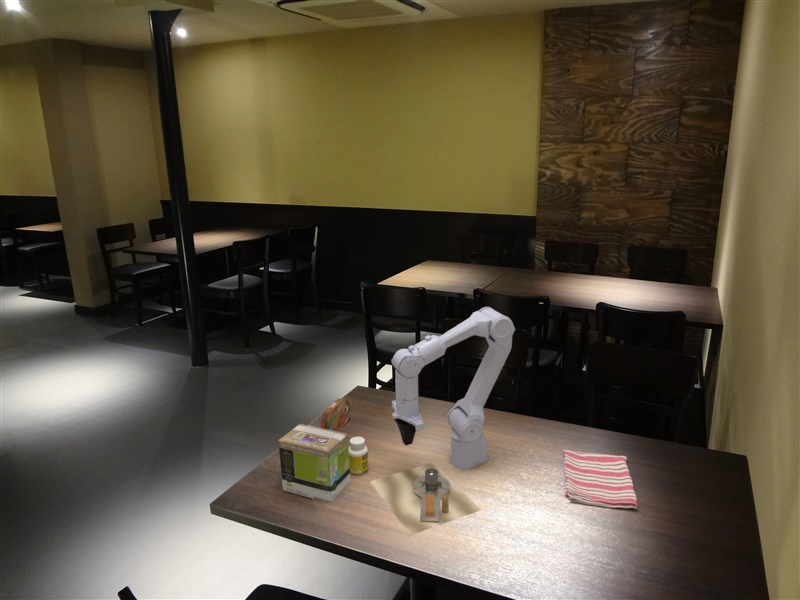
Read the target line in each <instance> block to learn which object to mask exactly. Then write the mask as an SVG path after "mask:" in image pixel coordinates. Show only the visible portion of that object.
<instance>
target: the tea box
mask: <svg viewBox="0 0 800 600" xmlns="http://www.w3.org/2000/svg"><path fill="white" fill-rule="evenodd" d="M277 443H278V452H279V453H278V454H279V461H280V462H279V463H280V473H281V474H280V475H281V481H282V482H281V484H282V490H283V491H284V492H285V491H286V492H289V493H292V494H295V495H298V496H303V497H307V498H310V499H312V500H314V499H315V498H316V499H320V500H323V501H328V502H333V501H334V500H335V499H336V498H337V496H339V494H340V493H341V492H342V491H343V489H345V488H346V487H347V485H349V483H351V474H350V462H349V447H350V444H349V434H348V433H346V432H341V431H339V432H337V431H332V430H327V429H323V428H321V427H318V426H312V425H307V424H303V423H299V424H297V425H296V426H295V427H294V428H292V429H291V430H289V432H287V433H286V434H284V436H282V437H281V438H279V439H278V442H277Z"/></svg>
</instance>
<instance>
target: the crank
mask: <svg viewBox="0 0 800 600" xmlns="http://www.w3.org/2000/svg"><path fill="white" fill-rule="evenodd" d="M424 484H425V475H423V476H421V477H419V478H417V479H416V481H414V487H413V491H414V493H415V494H417V495H418V496H419V497H421V498H422V501H421V513H420V521H439V516H440V499H441V498H442V495H448V493H450V482H448V480H447V479H445V478H444V477H442V476H439V477H438V484H439V485H440V486H442V488H440V489H439V490H437V491H427V490H425V489H424V488H422V485H424Z"/></svg>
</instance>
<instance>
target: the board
mask: <svg viewBox="0 0 800 600" xmlns="http://www.w3.org/2000/svg"><path fill="white" fill-rule="evenodd" d="M431 468H432V469H436V470H437V471H438V477H439V476H442V477H444V478H445V479H447V480H448V482H450V493H448V496H449V512H448V513H443V512H442V498H441V499H440V516H439V521H420V513H421V501H422V498H421V497H419V496H418V495H417V494H415V493H414V491H413V487H414V481H416V479H417V478H419V477H421V476H423V475H425V471H426V470H427V469H431ZM369 482H370V484H371V485H372V487H373V488H374V489H375V490H376V492H377V493H378V495H379V497H380V498H382V500H383V502H385V504H386V505H387V507H388V508H389V509H390V511H392V513H393V514H394V516H395V517H396V518H397V520H398V521H399V522H400V524H401V525H402V526H403V528H404V530H406V532H407V534H409V536H413V535H415V534H418V533H421V532H424V531H425V530H428V529H429V530H430V529H432V528H434V527H437V526H441V525H443V524H446V523H449V522H451V521H455V520H458V519H460V518H463V517H465V516H468V515H471V514H474V513H477V512H480V511H482V509H481V508H480V507H479V506H478V505H477V503H475V502H474V500H472V499H471V498H470V497H469V496H468V495H467V494H466V493H465V491H463V490H462V489H461V488H460V487H459V486H458V485H457V483H455V482H454V481H453V480H452V479H451V478H450V477H449V476H448V475H447V474H446V473H445V472H444V471H443V470H442V469H441V467H439V466H438V465H437V464H436V463H435V462H429V463H427V464H423V465H420V466H416V467H414V468H409V469H406V470H403V471H400V472H396V473H393V474H389V475H387V476H383V477H380V478H376V479H373V480H370V481H369ZM422 488H424V489H425V484H424V485H422ZM440 488H442V486H440V485H439V484H438V490H439V489H440Z"/></svg>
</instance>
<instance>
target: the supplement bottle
mask: <svg viewBox="0 0 800 600" xmlns="http://www.w3.org/2000/svg"><path fill="white" fill-rule="evenodd" d="M349 462H350V475H351V476H363V475H365V474H367V472H368V471H369V450H368V446H366V440H365V438H364V437H361V436H353V437H352V438H350V439H349Z"/></svg>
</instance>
